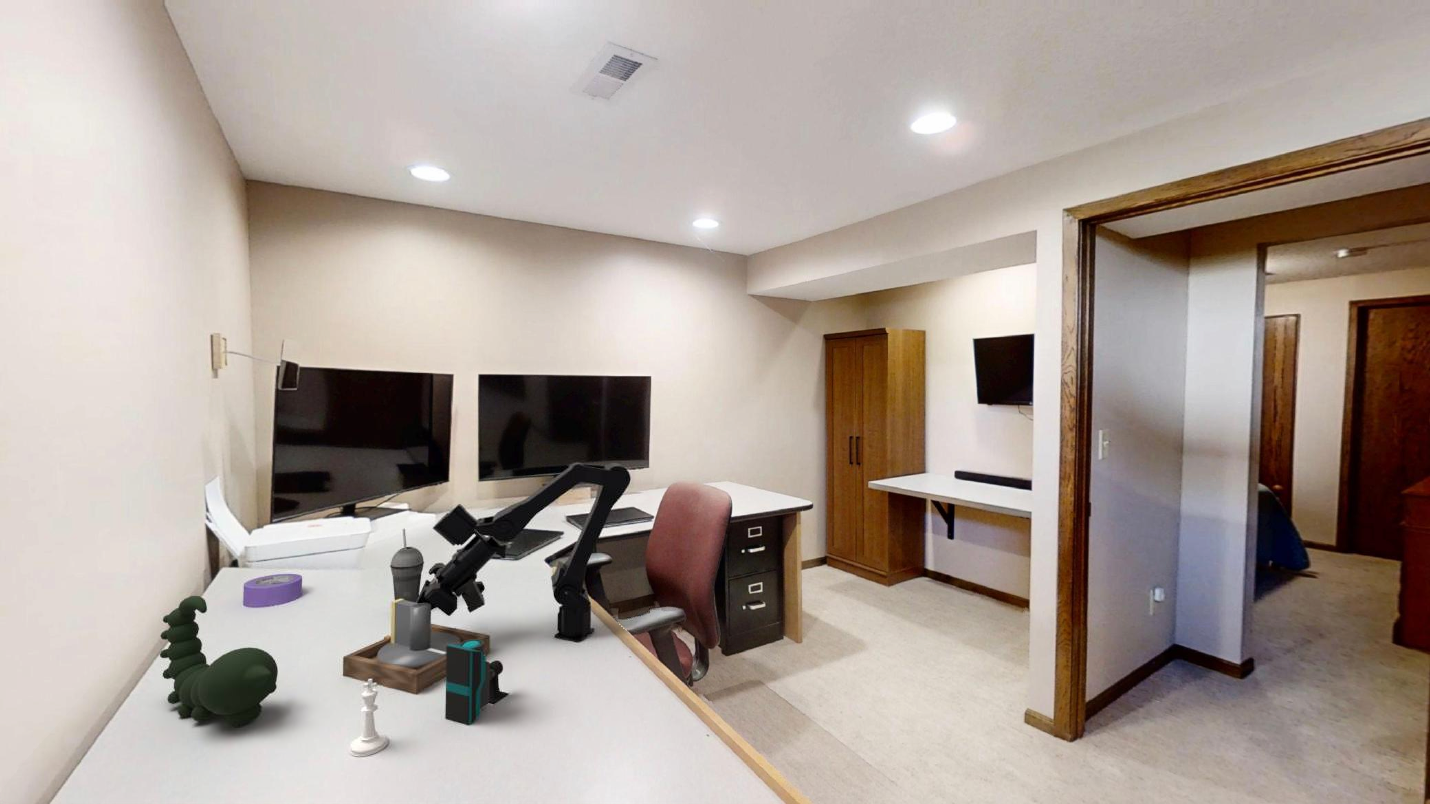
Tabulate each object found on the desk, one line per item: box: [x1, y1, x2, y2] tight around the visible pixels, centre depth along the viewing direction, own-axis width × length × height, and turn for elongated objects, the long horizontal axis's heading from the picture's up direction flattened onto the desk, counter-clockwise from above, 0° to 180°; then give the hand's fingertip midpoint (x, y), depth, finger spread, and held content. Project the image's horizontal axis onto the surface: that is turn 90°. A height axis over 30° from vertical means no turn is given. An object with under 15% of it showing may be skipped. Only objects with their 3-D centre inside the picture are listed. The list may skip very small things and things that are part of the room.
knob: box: [377, 599, 460, 670], centre depth 111 cm, size 14×14×10 cm
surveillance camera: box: [444, 639, 509, 726], centre depth 96 cm, size 6×12×10 cm
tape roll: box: [242, 573, 303, 609], centre depth 144 cm, size 12×12×5 cm
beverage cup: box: [389, 528, 425, 603], centre depth 137 cm, size 7×7×20 cm
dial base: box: [342, 623, 491, 695], centre depth 111 cm, size 18×18×4 cm
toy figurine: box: [159, 595, 279, 728], centre depth 92 cm, size 10×19×26 cm
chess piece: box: [348, 679, 389, 758], centre depth 84 cm, size 5×5×10 cm
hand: (409, 620), depth 114 cm, fingers closed
